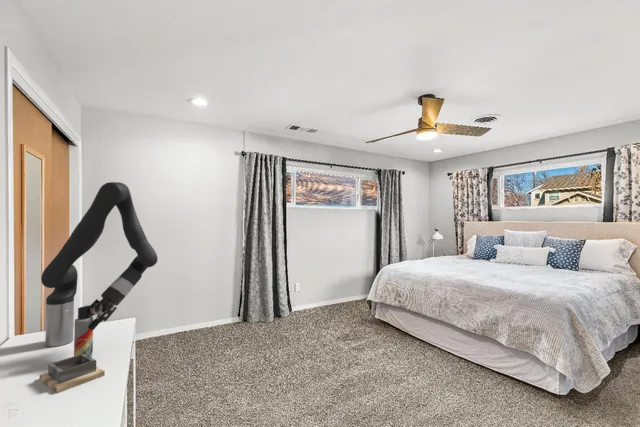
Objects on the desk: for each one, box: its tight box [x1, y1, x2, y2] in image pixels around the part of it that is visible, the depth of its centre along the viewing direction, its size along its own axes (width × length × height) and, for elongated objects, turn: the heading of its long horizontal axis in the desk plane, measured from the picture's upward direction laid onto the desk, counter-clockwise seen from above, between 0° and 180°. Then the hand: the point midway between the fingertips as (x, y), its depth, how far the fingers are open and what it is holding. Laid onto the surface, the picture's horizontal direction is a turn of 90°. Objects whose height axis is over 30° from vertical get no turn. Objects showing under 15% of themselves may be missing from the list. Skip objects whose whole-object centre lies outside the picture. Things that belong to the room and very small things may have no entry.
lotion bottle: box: [73, 305, 94, 358], centre depth 121 cm, size 6×6×20 cm
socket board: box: [38, 354, 105, 394], centre depth 107 cm, size 15×13×5 cm
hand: (84, 326), depth 121 cm, fingers open, 8 cm apart
